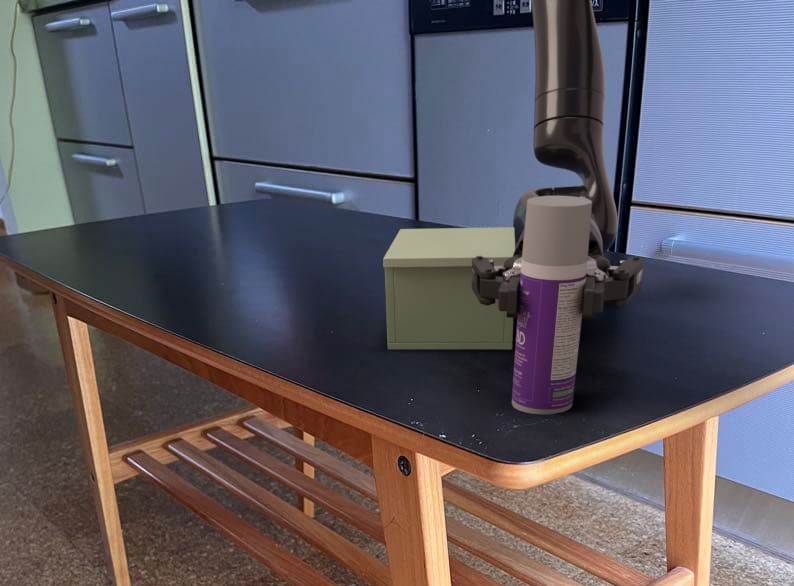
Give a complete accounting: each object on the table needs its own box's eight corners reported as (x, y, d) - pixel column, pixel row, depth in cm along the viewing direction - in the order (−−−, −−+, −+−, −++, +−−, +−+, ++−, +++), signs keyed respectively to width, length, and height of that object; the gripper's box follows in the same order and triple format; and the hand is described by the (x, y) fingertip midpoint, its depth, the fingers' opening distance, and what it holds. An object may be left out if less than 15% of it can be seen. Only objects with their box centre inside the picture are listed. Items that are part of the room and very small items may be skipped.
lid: (515, 266, 76) (515, 256, 76) (383, 267, 77) (383, 258, 77) (514, 235, 88) (514, 227, 88) (400, 237, 90) (400, 229, 89)
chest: (512, 351, 80) (515, 264, 77) (387, 351, 82) (384, 266, 78) (511, 312, 92) (514, 235, 88) (402, 313, 94) (400, 237, 90)
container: (498, 402, 68) (511, 199, 61) (541, 390, 71) (558, 193, 63) (542, 421, 65) (560, 208, 58) (585, 406, 67) (608, 201, 60)
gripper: (477, 210, 76) (449, 249, 61) (648, 209, 73) (661, 249, 59) (476, 297, 79) (449, 353, 65) (639, 299, 77) (649, 358, 62)
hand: (550, 304), depth 62 cm, fingers closed on container, 4 cm apart
